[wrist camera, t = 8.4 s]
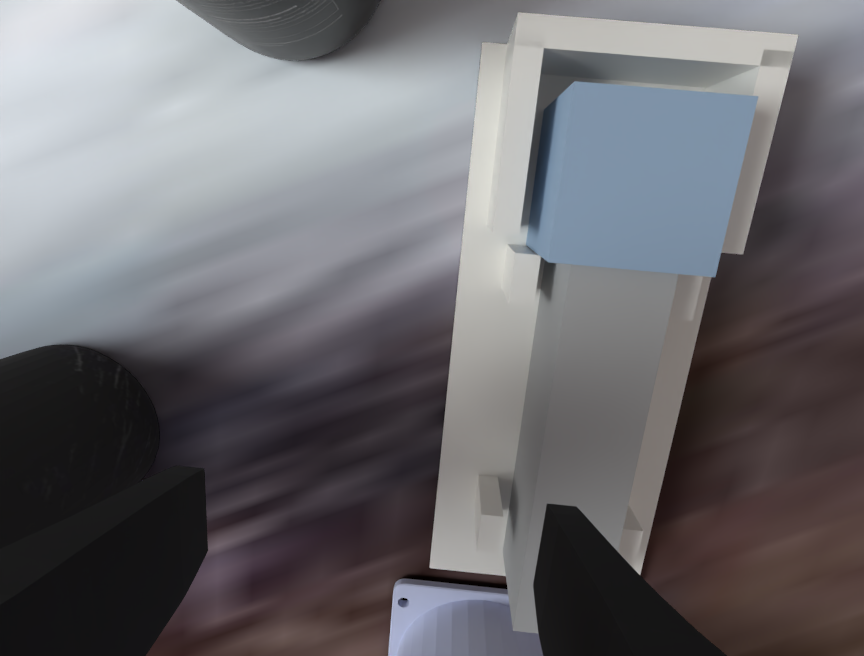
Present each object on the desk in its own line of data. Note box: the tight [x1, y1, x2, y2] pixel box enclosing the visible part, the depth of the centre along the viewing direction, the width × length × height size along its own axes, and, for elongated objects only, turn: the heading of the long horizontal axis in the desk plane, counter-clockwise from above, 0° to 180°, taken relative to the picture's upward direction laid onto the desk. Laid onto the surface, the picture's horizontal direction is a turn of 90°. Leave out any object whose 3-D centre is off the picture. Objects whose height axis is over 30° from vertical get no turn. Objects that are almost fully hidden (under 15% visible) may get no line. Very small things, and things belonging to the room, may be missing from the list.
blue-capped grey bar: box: [503, 81, 758, 634], centre depth 17 cm, size 18×4×4 cm, turn 175°
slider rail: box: [430, 12, 798, 576], centre depth 18 cm, size 21×9×4 cm, turn 175°
